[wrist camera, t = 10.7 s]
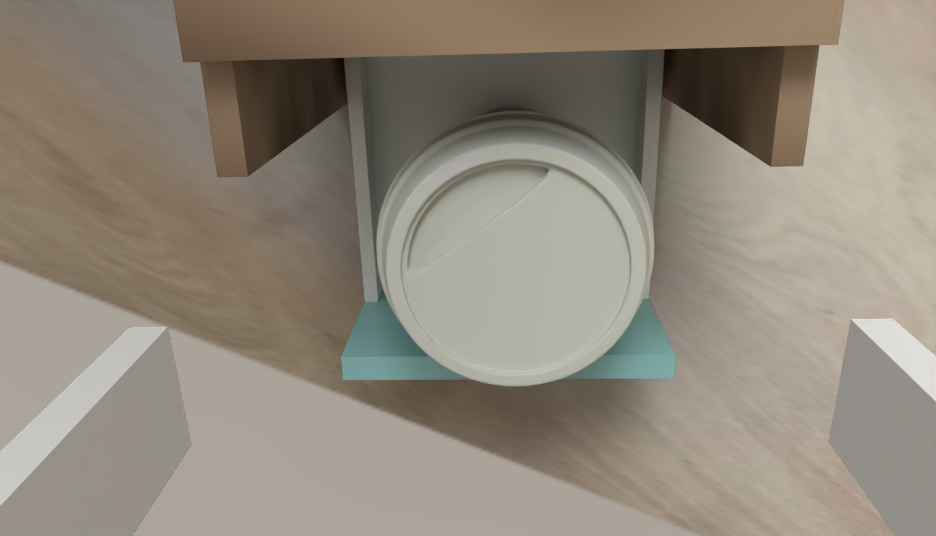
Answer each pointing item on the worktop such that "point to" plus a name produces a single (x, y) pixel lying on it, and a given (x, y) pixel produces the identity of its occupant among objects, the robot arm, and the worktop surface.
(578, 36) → the cubby
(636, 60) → the teal drawer
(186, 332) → the worktop surface
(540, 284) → the coffee cup
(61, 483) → the robot arm
